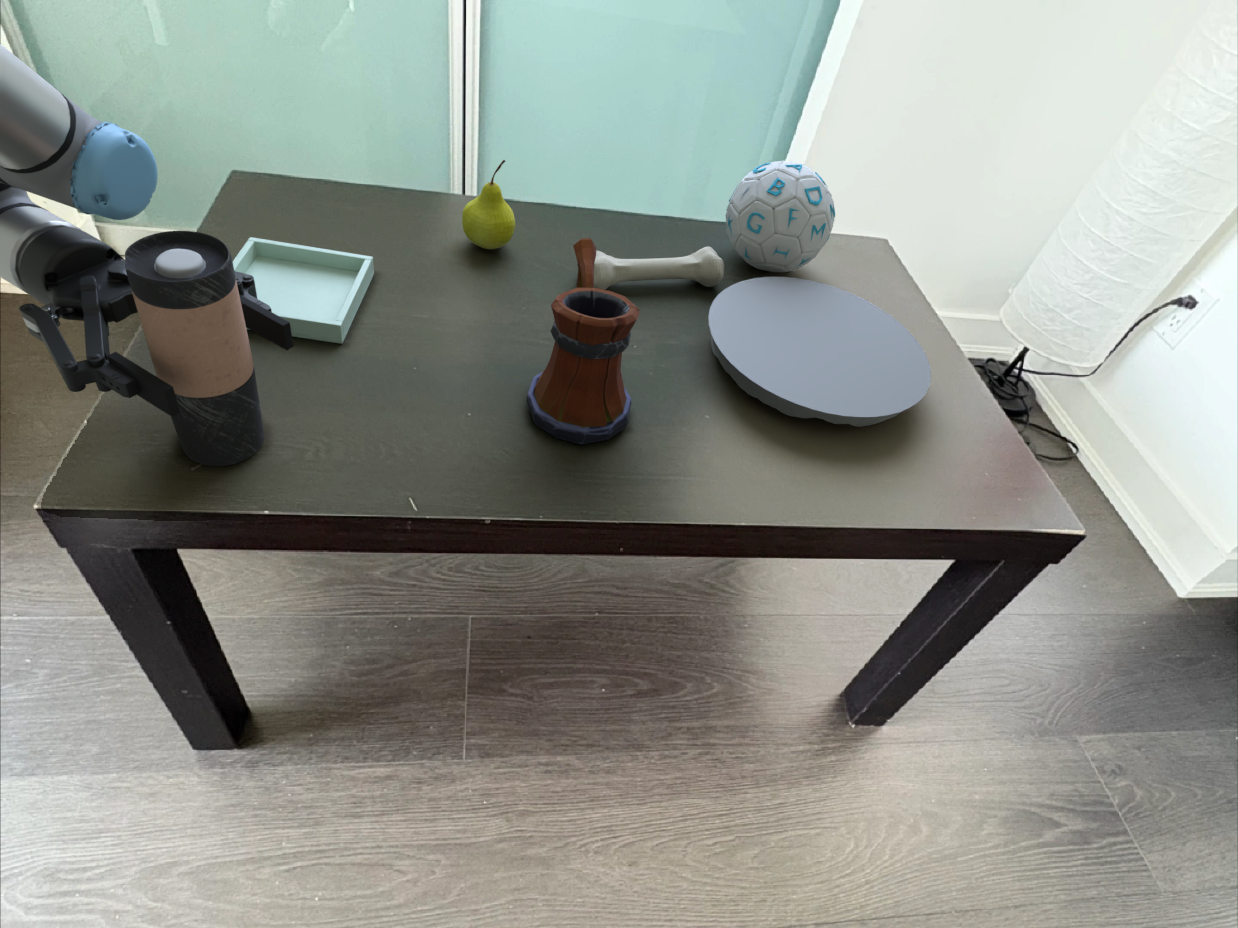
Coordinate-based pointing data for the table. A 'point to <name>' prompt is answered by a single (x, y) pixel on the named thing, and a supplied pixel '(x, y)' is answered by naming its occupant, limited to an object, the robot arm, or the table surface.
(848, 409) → the flat disc
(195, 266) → the travel mug
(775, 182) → the puzzle ball
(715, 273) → the dog toy
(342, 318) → the tray
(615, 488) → the table surface
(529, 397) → the mug
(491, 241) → the fruit
